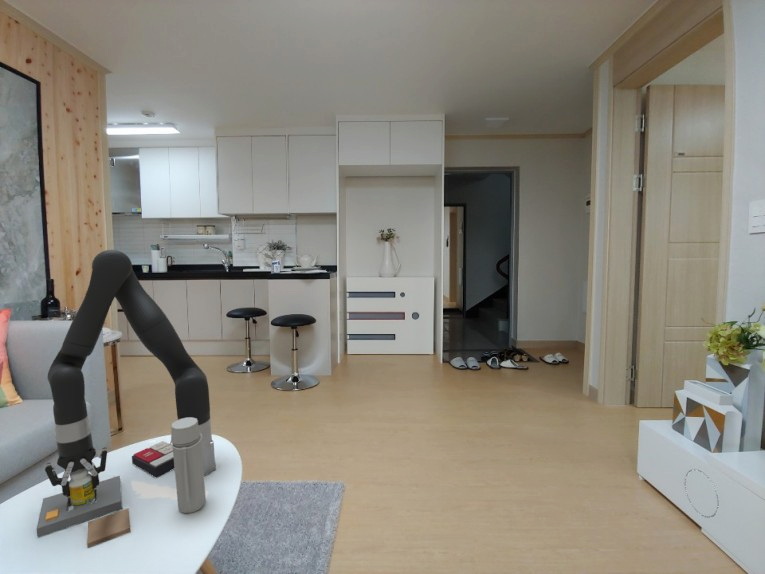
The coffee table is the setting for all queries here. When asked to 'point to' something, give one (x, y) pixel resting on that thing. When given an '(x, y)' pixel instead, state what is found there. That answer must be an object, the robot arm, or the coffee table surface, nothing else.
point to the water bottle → (188, 464)
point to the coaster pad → (108, 527)
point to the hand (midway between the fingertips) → (81, 490)
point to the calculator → (155, 459)
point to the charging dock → (60, 517)
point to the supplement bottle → (81, 488)
